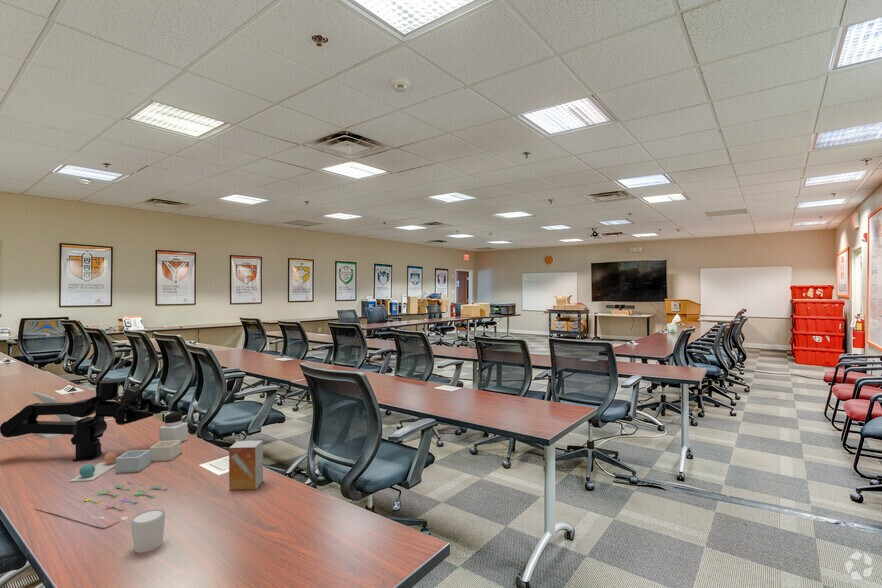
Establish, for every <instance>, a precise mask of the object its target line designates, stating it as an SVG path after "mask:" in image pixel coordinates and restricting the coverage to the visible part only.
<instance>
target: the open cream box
mask: <svg viewBox="0 0 882 588" xmlns="http://www.w3.org/2000/svg"><path fill="white" fill-rule="evenodd" d="M181 444H182V443H181V440H173V441H160V442H159V441H158V442H156V443H155V444H154V445H151V447H149V450H150V453H151V461H160V462H168V461H167V460H172V459H173V460H175V459H176V458H177V457H178V456H180V455H181V454H182V447H181ZM180 453H181V454H180ZM179 454H180V455H179ZM177 455H178V456H177ZM176 456H177V457H176ZM175 457H176V458H175ZM173 460H172V461H173Z"/></svg>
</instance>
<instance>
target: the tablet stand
mask: <svg viewBox="0 0 882 588" xmlns="http://www.w3.org/2000/svg"><path fill="white" fill-rule="evenodd" d="M31 394H32V395H33V396H34V397H36V398H37V399H38V400H39V401H40V403H61V402H60V401H59V400H58V399H57V398H56V397H54V396H51V395H49V394H48V395H47V394H44V393H42V392H41V393H40V392H37V391H32V392H31ZM56 417H57V418H59V421H61V422H76V421H78V420H80V419H83V418H85V417H83V418H80V417H73V416H70V415H66V414H62V415H56ZM39 435H41V436H43V437H42V438H44V437H45V438H44V439H46V438H48V439H53V438H56V437H62V436H65V435H67V434H38V435H37V436H39ZM61 435H62V436H61ZM41 436H40V437H41ZM52 437H53V438H52Z"/></svg>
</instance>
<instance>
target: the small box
mask: <svg viewBox="0 0 882 588" xmlns="http://www.w3.org/2000/svg"><path fill="white" fill-rule="evenodd" d="M263 443H264V441H263V440H237V441H235V442H234V443H233V444H232V445H231V446H229V448H228V484H229V485H228V488H229V491H235V490H236V491H237V490H257V488H258V487H259V486H260V485H261V484H262V482H263V481H264V444H263Z"/></svg>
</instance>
